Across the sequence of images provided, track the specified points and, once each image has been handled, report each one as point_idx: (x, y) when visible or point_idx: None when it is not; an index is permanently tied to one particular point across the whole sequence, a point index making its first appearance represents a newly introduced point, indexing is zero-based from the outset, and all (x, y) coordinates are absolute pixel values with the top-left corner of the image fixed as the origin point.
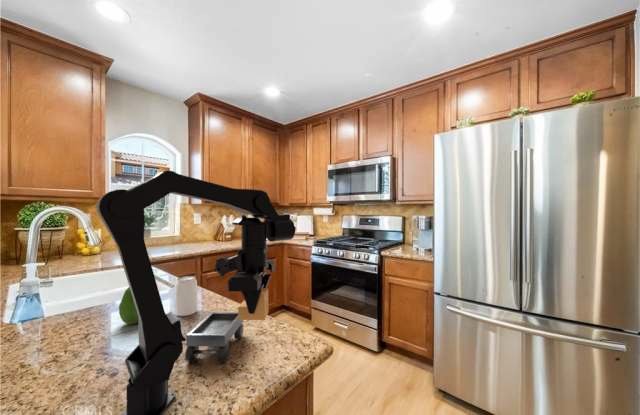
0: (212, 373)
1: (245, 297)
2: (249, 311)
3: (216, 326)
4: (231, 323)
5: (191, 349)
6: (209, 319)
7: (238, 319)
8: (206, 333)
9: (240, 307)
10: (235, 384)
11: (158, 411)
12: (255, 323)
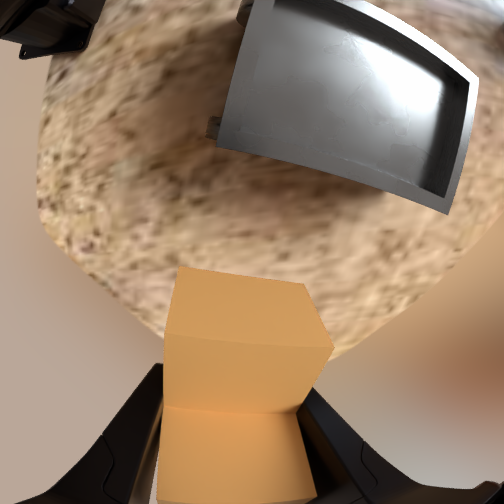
0: (169, 110)
1: (83, 463)
2: (149, 375)
3: (386, 90)
4: (356, 166)
5: (248, 10)
6: (438, 65)
7: (179, 267)
8: (323, 47)
9: (165, 342)
10: (108, 197)
11: (37, 49)
12: (446, 224)
